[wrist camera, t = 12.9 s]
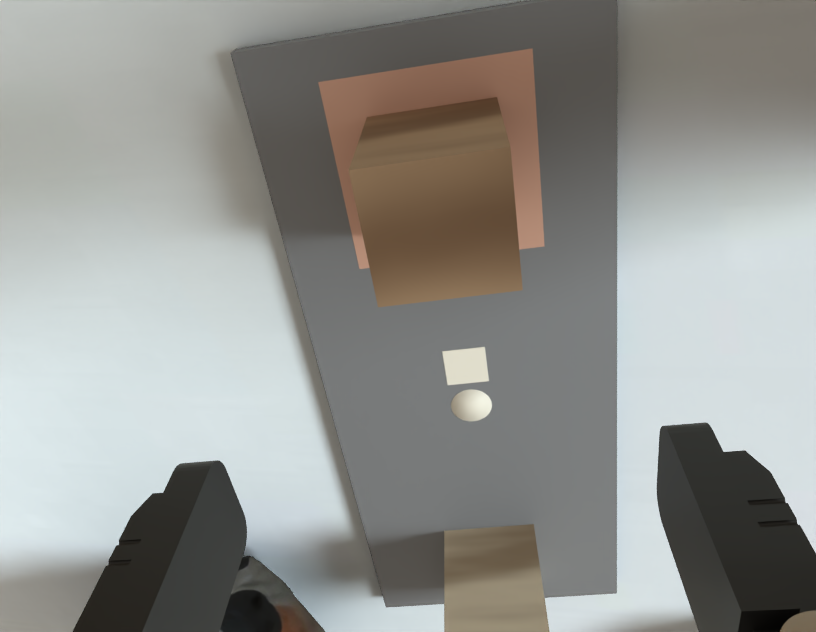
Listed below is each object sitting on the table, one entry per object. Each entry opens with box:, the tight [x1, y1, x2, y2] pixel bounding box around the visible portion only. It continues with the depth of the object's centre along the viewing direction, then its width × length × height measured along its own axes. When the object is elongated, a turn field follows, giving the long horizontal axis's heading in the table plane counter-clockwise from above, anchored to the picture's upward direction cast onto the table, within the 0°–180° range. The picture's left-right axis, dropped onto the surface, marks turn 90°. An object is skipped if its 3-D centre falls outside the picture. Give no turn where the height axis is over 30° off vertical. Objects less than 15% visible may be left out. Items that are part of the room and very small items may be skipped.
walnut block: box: [349, 97, 523, 307], centre depth 24 cm, size 5×5×6 cm
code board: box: [231, 0, 617, 607], centre depth 33 cm, size 33×14×1 cm, turn 9°
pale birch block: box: [444, 524, 549, 632], centre depth 36 cm, size 5×5×7 cm
